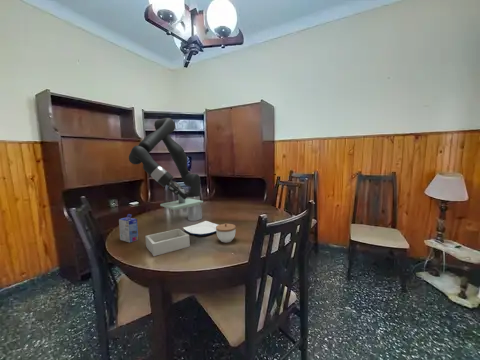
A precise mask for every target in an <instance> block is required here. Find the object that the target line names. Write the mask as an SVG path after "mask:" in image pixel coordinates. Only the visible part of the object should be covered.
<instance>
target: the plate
mask: <svg viewBox="0 0 480 360" xmlns="http://www.w3.org/2000/svg"><path fill="white" fill-rule="evenodd" d="M218 225H219V224H218V223H214V222H211V221H208V220H204V221H201V222H199V223H196V224H192V225H188V226H184V227H182V230H183V231H184V232H185V233H187V234H189V235H190V234H191V235H194V236H200V237H201V236H202V237H203V236H208V235H212V234H215V233H216V226H218Z"/></svg>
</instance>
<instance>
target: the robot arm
mask: <svg viewBox="0 0 480 360" xmlns="http://www.w3.org/2000/svg"><path fill="white" fill-rule="evenodd" d="M153 124H154V130H155V131H152V132H150V134H148V135H146V136H145V137H143V139H142V140H141V141H140V142H139V144H138V145H135V146H133V147H132V148H131V150H130V152H129V155H128V161H129V162H130V163H131V164H133V165H140V164H142V169H143V170H144V172H146V174H148V175H149V176H151V178H152V179H153V180H155V181H156V182H157V183H158V184H159V185H161V186H162V188H164V187H166V186H167V187H168V190H169V191H170V192H172V193H173V194H175V195H176V196H178V195H180V196H181V197H182V198H183V199H189V198H190V199H195V200H201V197H200V195H201V176H200V175H199V174H197V173H191V172H190V171H189V169H188V166H187V163H188V156H187V154H186V151H185V150H184V148H183V146H181V145H180V144H179V143H178V142H176V141H175V140H174V139H173V138H172V137H171V135H170V134H172V133H174V131H175V130H176V124H175V120H173V119H172V117H171V118H170V117H164V118H160V119H157V120H155V121H154V123H153ZM161 141H162V142H163V144H164V145H165V147H166V149H167V151H168V152H169V154H170V157H171V158H172V160H173V163H174V164H175V166H176V168H177V170H178V172H179V174H180V178H181V179H182V182H183V184H184V185H185V186H186V187H189V188H190V190H189V191H187V192H186V191H185V194H184V193H183V192H182V191H181V190H180V189H184V188H183V186H181V185H180V183H178V182H176V181H174V180H173V179H174V175H172V174H171V173H170V172H169V171H167V169H165V167H162V166H161V165H160V164H159V163H157V162H156V161H155V160H154V159H153V157H152V155H150V153H151V151H153V149H154V148H155V147H156V146H157V145H158V144H159V143H160V142H161ZM186 209H187V220H188V221H191V222H195V221H199V220H200V221H201V220H202V219H203V215H202V212H203V211H202V205H201V203H200V204H199V205H196V206H192V207H187V208H186Z"/></svg>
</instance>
